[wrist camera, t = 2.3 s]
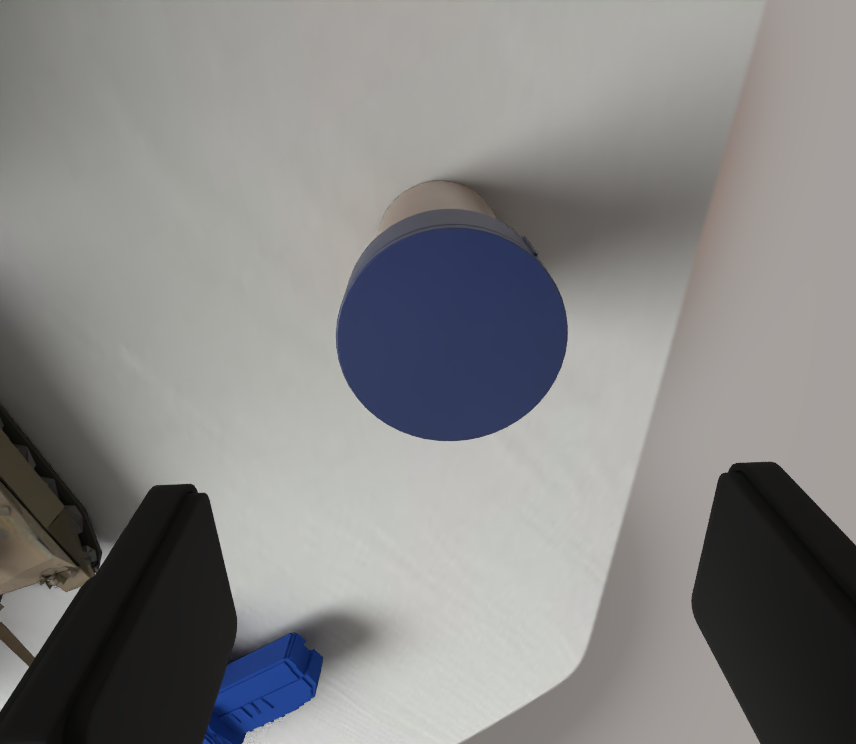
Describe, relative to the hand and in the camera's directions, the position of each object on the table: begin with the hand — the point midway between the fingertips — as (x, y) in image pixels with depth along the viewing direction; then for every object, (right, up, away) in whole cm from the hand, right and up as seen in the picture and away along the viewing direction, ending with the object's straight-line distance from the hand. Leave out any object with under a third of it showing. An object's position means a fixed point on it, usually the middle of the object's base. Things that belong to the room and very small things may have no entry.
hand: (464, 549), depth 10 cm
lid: (0, +4, +7) cm, 8 cm away
